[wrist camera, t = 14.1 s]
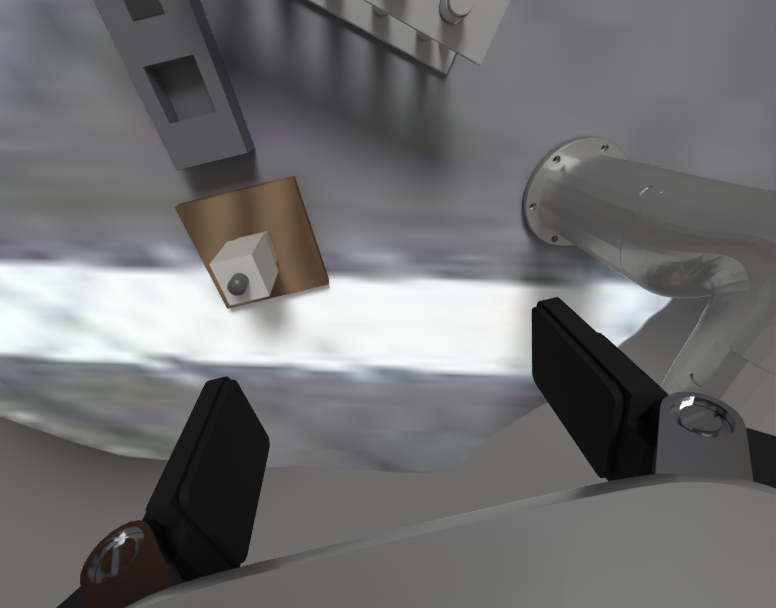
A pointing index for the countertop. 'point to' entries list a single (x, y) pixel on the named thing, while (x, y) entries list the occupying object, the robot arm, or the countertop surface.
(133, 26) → the power strip
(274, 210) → the walnut board
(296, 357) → the countertop surface
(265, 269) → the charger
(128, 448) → the countertop surface
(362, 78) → the countertop surface
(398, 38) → the test tube rack
